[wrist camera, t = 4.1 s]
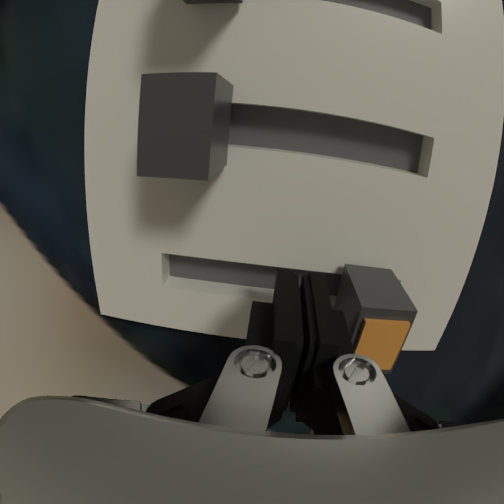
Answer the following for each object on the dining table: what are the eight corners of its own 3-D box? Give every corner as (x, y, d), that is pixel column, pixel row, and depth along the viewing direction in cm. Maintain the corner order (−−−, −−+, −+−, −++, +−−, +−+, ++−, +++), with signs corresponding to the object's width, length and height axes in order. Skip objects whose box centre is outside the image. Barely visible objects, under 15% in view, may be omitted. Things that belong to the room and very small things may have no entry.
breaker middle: (237, 88, 10) (216, 72, 7) (230, 160, 11) (208, 180, 8) (184, 86, 10) (141, 74, 7) (179, 157, 12) (136, 176, 8)
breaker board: (479, 5, 8) (501, -4, 6) (422, 327, 15) (434, 350, 14) (132, -44, 9) (114, -60, 7) (117, 293, 16) (101, 314, 14)
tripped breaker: (384, 258, 13) (420, 314, 9) (367, 313, 14) (391, 377, 10) (340, 252, 13) (363, 310, 9) (326, 309, 14) (340, 376, 10)
